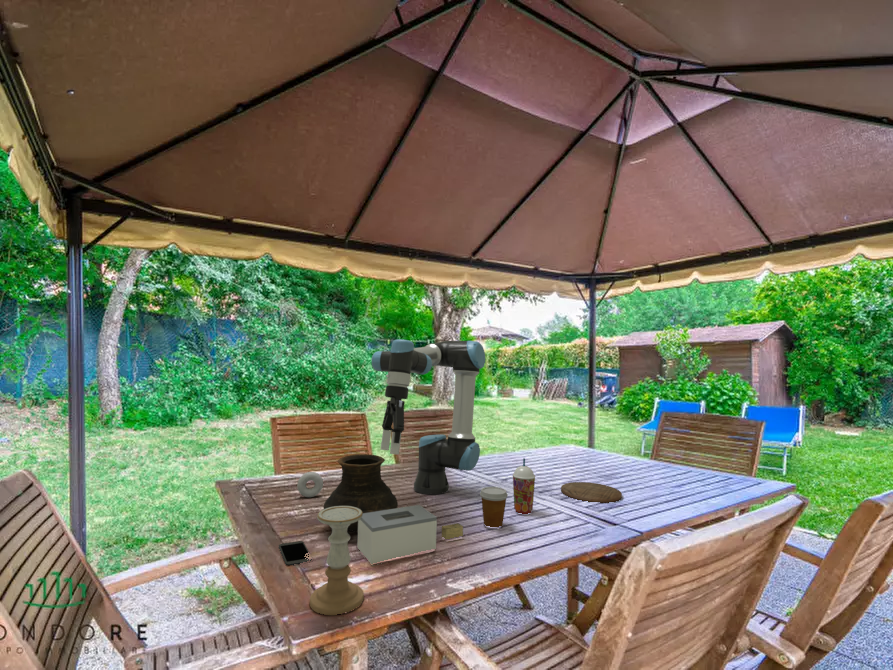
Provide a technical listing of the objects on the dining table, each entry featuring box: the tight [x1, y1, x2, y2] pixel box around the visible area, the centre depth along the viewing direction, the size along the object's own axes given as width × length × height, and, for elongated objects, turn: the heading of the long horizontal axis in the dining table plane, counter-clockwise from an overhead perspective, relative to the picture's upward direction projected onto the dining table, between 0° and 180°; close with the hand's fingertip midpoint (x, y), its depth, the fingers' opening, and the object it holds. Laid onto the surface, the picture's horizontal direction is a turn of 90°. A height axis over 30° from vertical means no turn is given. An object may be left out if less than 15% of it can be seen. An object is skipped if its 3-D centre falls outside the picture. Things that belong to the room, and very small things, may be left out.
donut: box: [296, 471, 324, 498], centre depth 178 cm, size 10×4×10 cm, turn 109°
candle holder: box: [309, 506, 365, 616], centre depth 104 cm, size 12×12×20 cm
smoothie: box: [512, 457, 536, 514], centre depth 166 cm, size 8×8×20 cm
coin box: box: [356, 504, 438, 564], centre depth 131 cm, size 20×12×10 cm, turn 119°
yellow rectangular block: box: [441, 523, 464, 539], centre depth 140 cm, size 6×3×4 cm, turn 119°
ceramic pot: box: [323, 453, 399, 533], centre depth 148 cm, size 24×24×22 cm
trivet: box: [560, 481, 623, 504], centre depth 192 cm, size 25×25×2 cm
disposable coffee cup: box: [479, 486, 509, 527], centre depth 152 cm, size 10×10×12 cm
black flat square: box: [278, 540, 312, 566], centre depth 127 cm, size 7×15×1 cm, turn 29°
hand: (389, 452), depth 143 cm, fingers open, 13 cm apart
